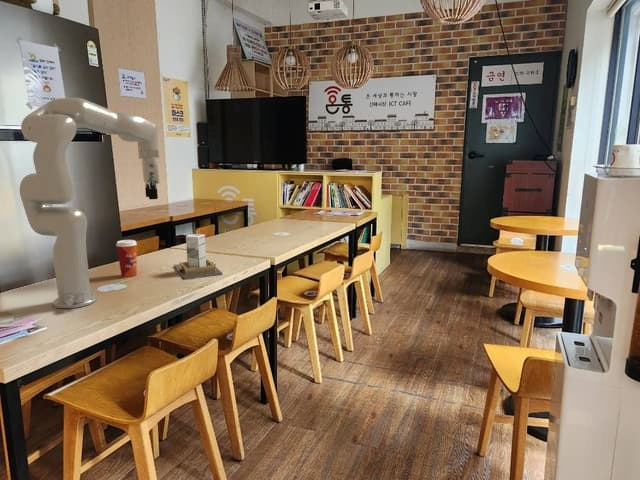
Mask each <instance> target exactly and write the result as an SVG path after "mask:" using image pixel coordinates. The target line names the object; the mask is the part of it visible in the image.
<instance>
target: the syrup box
mask: <svg viewBox="0 0 640 480" xmlns="http://www.w3.org/2000/svg"><path fill="white" fill-rule="evenodd" d="M185 242H186V243H185V244H186V246H185V247H186V259H187V261H186V262H188V268H194V267H203V266H206V260H207V257H206V255H207V253H206V235H205V234H204V233H203V234H202V233H191V234H188V235H186V236H185Z"/></svg>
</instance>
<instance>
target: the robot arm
mask: <svg viewBox="0 0 640 480" xmlns="http://www.w3.org/2000/svg"><path fill="white" fill-rule="evenodd" d="M77 126H80V127H84V128H86V129H90V130H93V131H95V132H99V133H101V134H107V135H113V136H114V135H115V136H116V135H117V136H118V138H120V139H121V140H122V141H124V142H127V143H128V142H129V143H131V142H132V143H136V142H137V152H138V153H137V154H138V159H139V160H141V165H142V175H143V178H142V179H143V182H144V183H145V184H144V185H145V186H144V187H145V188H144V189H145V197H146V198H148V199H149V200H158V198H159V197H158V196H159V195H158V186H157V184H160V175H159V167H158V166H159V165H158V160H157V159H160V157H159V153H160V152H159V140H158V126H157V125H156V124H155V123H153V122H151V121H150V120H148V119H145V118H143V117H141V116H138V115H135V114H130V113H125V112H122V111H118V110H113V109H109V108H107V107H104V106H101V105H99V104H98V103H94V102H92V101H89V100H87V99H84V98H82V97H59V98H54V99H52V100H50V101H48V102H46V103H45V104H43V105H42V106H40V107H38V108H37V109H35V110H33V111H32V112H30V113H29V114H27V115H26V116H25V117H24V118H23V119H22V121H21V125H20V130H21V133H22V135H23V136H24V138H26V140H28V141H30V142H33V143H36V145H35V147H34V151H33V153H32V154H33V155H32V158H33V159H32V160H33V165H34V170H35V172H33V173H30V174H27V175H25V176H24V177H23V178H22V179H21V181H20V184H19V196H20V199H21V202H22V206H23V209H24V212H25V215H26V217H27V221H28V224H29V226H30V228H31V229H32V231H33V232H34V233H36V234H38V235H40V236H45V237H46V236H49V237H56V240H55V242H54V244H53V248H52V256H53V257H52V258H53V264H54V266H53V267H54V272H55V273H54V274H55V280H56V281H55V282H56V290H57V297H58V298H56V299H54V300H53V302H52V303H53V307H54V308H57V309H76V308H82V307H85V306H89V305H92V304H93V303H95V302H96V301H97V295H95V294H93V293H92V292H91V283H90V282H91V281H90V271H89V262H88V261H89V260H88V254H87V253H88V252H87V229H88V219H87V216H86V215H85V213H84V212H83V211H82V210H80V209H78V208H75V207H70V206H69V207H68V206H54V205H65V204H68V203H70V202H71V201H72V200H73V198H74V187H73V183H72V180H71V176H70V172H69V169H68V168H69V167H68V164H67V160H66V155H67V150H68V147H69V146H70V144H71V142H72V141H73V140H74V138H75V136H76V135H77V134H76V133H77Z"/></svg>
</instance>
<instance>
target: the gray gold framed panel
mask: <svg viewBox="0 0 640 480" xmlns="http://www.w3.org/2000/svg"><path fill="white" fill-rule="evenodd" d="M173 267H174V268H175V270H176V271H177V272H178V273H179V274H180V276H181V277H182V278H183V280H190V279H191V280H192V279H200V278H207V277H215V276H222V275H223V272H222V271H221V270H220V269H219V268H217V265H216V261H210V260H209V259H206V266H203V267H194V268H188V262H187V261H182V262H179V263H178V264H173Z"/></svg>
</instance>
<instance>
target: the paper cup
mask: <svg viewBox="0 0 640 480" xmlns="http://www.w3.org/2000/svg"><path fill="white" fill-rule="evenodd" d="M137 245H138V243H137V241H136V240H134V239H123V240H122V239H121V240H118V241H117V242H116V244H115V246H116V248H117V249H116V250H117V256H118V261H119V268H120V274H121V277H122V278H133V277H136V276H137V274H138V273H137V272H138V271H137V269H138V268H137V266H138V265H137Z"/></svg>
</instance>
